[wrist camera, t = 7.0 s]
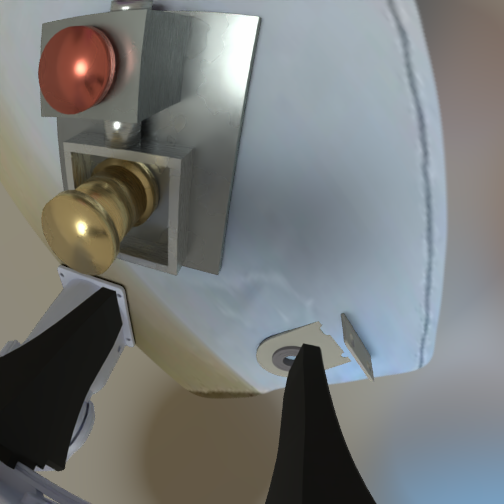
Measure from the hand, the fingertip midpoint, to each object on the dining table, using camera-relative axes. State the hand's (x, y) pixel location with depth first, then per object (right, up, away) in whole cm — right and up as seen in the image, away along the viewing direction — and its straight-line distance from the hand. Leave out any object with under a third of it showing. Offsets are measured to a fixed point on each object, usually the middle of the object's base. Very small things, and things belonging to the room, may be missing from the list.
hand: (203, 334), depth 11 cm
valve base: (-5, +10, +7) cm, 13 cm away
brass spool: (-7, +7, +8) cm, 13 cm away
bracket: (+8, -5, +16) cm, 19 cm away
